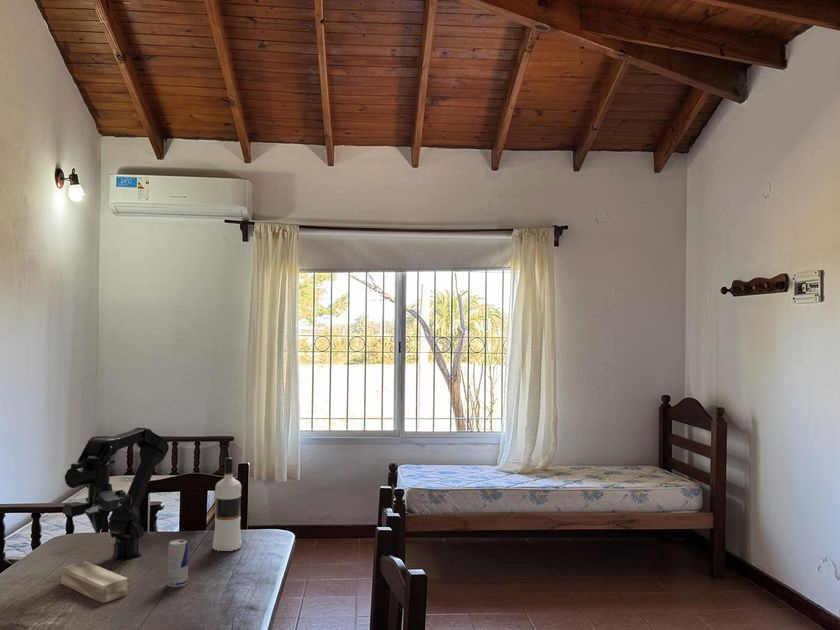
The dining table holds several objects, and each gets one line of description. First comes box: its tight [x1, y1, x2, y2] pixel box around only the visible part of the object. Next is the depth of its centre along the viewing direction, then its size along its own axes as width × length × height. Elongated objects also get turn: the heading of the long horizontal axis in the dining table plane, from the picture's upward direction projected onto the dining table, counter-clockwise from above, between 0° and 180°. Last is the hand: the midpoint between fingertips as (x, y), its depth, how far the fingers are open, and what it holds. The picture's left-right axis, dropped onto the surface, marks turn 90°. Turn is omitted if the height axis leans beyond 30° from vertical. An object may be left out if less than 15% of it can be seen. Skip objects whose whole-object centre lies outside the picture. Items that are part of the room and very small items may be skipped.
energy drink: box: [167, 538, 189, 588], centre depth 194 cm, size 5×5×12 cm
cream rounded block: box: [60, 560, 129, 604], centre depth 190 cm, size 7×22×4 cm, turn 54°
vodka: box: [212, 456, 243, 552], centre depth 227 cm, size 9×9×30 cm
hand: (97, 532), depth 205 cm, fingers closed
